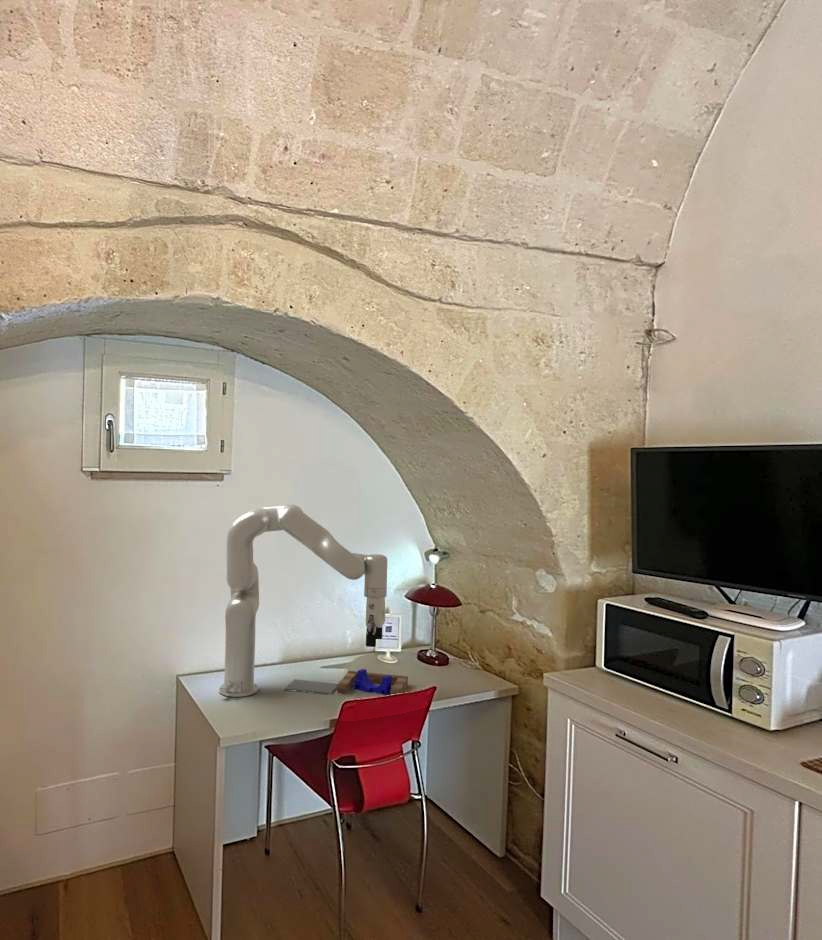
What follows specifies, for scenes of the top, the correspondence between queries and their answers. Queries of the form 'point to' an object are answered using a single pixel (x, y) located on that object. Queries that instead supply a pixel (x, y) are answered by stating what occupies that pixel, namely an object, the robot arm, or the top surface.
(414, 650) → the top surface
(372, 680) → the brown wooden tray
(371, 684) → the blue u-shaped cradle
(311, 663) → the top surface
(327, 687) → the rubber mat
